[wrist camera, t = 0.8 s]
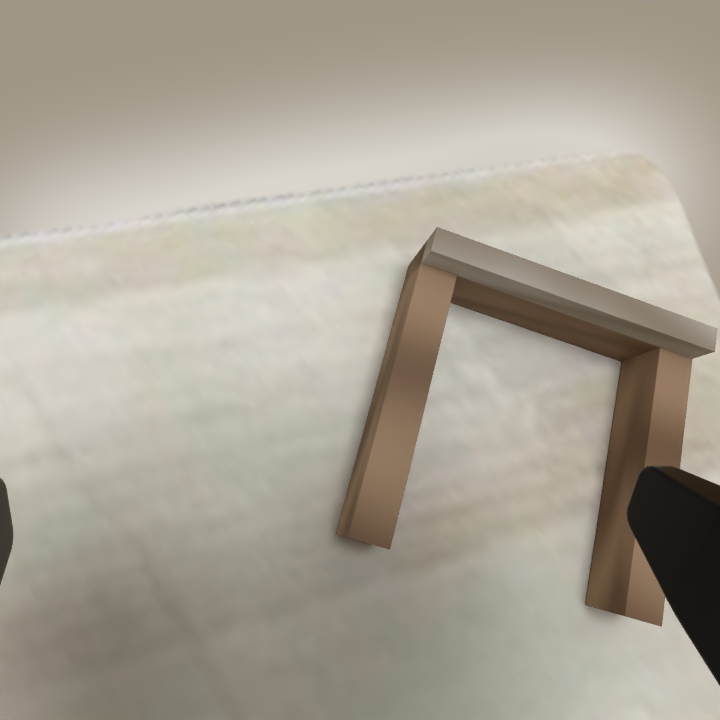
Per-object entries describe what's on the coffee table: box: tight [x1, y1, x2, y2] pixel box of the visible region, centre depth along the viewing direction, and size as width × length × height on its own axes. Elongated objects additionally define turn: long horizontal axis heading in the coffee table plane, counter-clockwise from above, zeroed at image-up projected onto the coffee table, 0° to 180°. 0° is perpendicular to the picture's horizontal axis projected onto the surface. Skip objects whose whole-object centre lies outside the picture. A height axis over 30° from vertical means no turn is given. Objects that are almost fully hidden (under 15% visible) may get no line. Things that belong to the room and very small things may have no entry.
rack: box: [336, 227, 717, 626], centre depth 23 cm, size 12×12×4 cm
